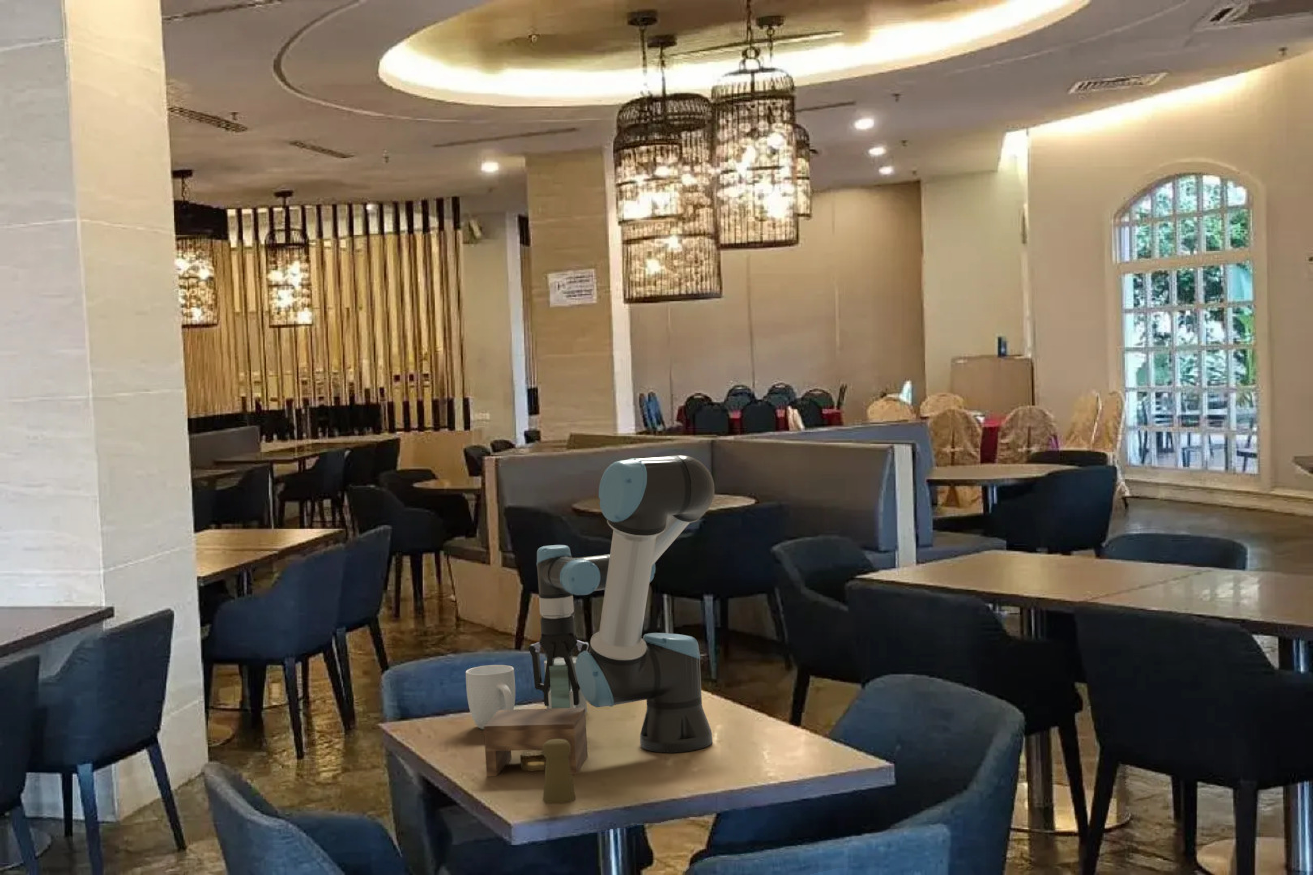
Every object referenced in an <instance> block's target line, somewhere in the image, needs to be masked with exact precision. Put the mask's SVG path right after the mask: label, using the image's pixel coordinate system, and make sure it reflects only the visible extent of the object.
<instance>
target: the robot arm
mask: <svg viewBox="0 0 1313 875" xmlns="http://www.w3.org/2000/svg"><path fill="white" fill-rule="evenodd" d="M598 486H599V487H598V498H599V500H600V501H599V507H600V511H601V513H602V516H604V517H605V519H606V523H607V525H608V526H609V527H610V528H611V529H612V530H613V531H612V538H611V545H610V553H608V554H600V555H593V556H592V555H591V556H582V557H572V553H571V549H570V546H568V545H565V544H554V545H543V546H541V547H539V548H537V551H536V563H535V564H536V569H537V580H538V581H537V582H538V584H537V585H538V602H539V615H541V618H540V634H541V635H540V638H539V640H538V641H539V642H536V643H531V644H530V645H529V646H528V650H529V652H530V655H531V661H532V670H533V681H534V689H535V690H539V691H542V692H543V705H544V707H547V706H549V709H552V705H551V690H550V688H551V687H550V670H549V666H552V665H553V664H554V660H555V658H556V657H562V658H564V661H565V663H566V665H568V675H569V678H570V682H571V686H572V689H571V690H570V692H569V697H570V708H576V706H575V705H578V704H579V702H580V695H579V690H580V689H581V692H582V694H583V696H584V697H585V699H586V702H587V704H589V705H591V706H592V707H595V708H604V707H610V708H611V707H614V706H617V705H624V704H628V703H629V704H630V703H634V702H635V703H636V702H640V701H646V711H645V715H644V719H643V722H642V726H641V731H640V734H639V741H640V742H639V743H640V744H639V746H640V747H641V748H642V749H644V750H647V751H650V752H655V753H683V752H684V753H685V752H691V751H697V750H701V749H705V748H706V747H709V746H711V745H712V743H713V732H712V729H711V726H710V723H709V721H708V719H707V718H708V717H707V716H706V713H705V710H704V707H703V698H702V696H703V695H702V678H701V654H700V653H701V652H700V649H699V648H700V647H699V642H698V641H697V639H696V638H695V637H693V636H691V635H685V634H679V633H670V632H669V633H667V632H666V633H665V632H651V633H649V632H648V633H645V634H644V635H643V636H642V634H643V628H644V627H643V626H644V620H645V615H646V614H645V613H646V607H647V600H648V594H649V588H650V583H651V582H652V581H653V580H654V577H655V574H656V562H657V561H658V560H659V559H660V558H661V556H662V555H663V554H664V553H665V551H667V549H668V548H669V547H670V546H671V545H672V544H673V543H674V541H675V540H677V538H678V537H679V536H680V535H681V533H683V531H684V530H685V529H686V528H687V527H688V526H689V524H690V523H695V522H697V521H699V520H700V519H701V518H703V516H704V515H705V514H706V512H708V510H709V509H710V507H711V506H712V503H713V501H714V497H715V492H716V491H715V482H714V479H713V476H712V474H711V472H710V471H709V469H708V468H707V467H706V465H704V463H702V462H701V461H700V460H698V459H696V458H694V457H691V456H689V455H684V454H682V455H681V454H676V455H669V456H668V455H667V456H659V457H658V456H657V457H656V456H655V457H645V458H638V457H632V458H631V457H630V458H628V459H624V460H617V461H614V462H612V464H610V465H609V466H608V467H607V468H606V469H605V470H604V472H603V474H602V477H601V479H600V482H599V485H598ZM596 591H604V595H603V600H602V601H603V602H602V608H601V616H600V617H601V618H600V624H599V629H598V631H597V632H595V633H594V634H593V635H592V636H591V637H590V641H589V642H588V641H585V642H584V641H581V640H578V637H577V635H576V626H575V616H574V614H573V613H574V612H575V608H574V596H586V595H590V594H592V593H594V592H596ZM642 637H643V638H642ZM576 646H577V651H578V652H579V653H578V654H577V656H576V657H577V658H576V671H575V667H574V664H573V660H572V657H573V655H572V652H573V650H574V649H575V647H576ZM541 648H542V650H543V651H544V652H545V653H546V654H547V656H546V660H547V665H546V672H545V671H544V678H543V679H544V680H542V670H541V669H542V666H541V656H540V652H541Z"/></svg>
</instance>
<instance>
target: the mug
mask: <svg viewBox="0 0 1313 875" xmlns="http://www.w3.org/2000/svg"><path fill="white" fill-rule="evenodd" d="M515 678H516V677H515V669H514V667H513V666H511V665H505V664H490V665H489V664H488V665H479V666H475V667H472V668H468V669H467V670H466V671H465V683H466V684H465V685H466V686H465V688H466V696H467V697H466V698H467V703H468V708H469V713H470V715H471V718H472V720H473V722H474V723H475V724H474V725H476V727H477V728H478V729H480V730H483V731H484V726H485V725H486V723H487V722H488V721H489V720H490V719H491V718H492V717H493V716H494V715H495V714H496V713H497V712H498V711H499V710H515V703H516V683H515V681H516V680H515Z"/></svg>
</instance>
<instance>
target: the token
mask: <svg viewBox="0 0 1313 875" xmlns="http://www.w3.org/2000/svg"><path fill="white" fill-rule="evenodd" d="M519 758H520V759H519V760H520V768H521V770H523V769H524V771H528V770H530V771H529V772H536V771H538V770H539V771H545V767H546V758H545V757H544V755H543V750H529V751H527V752H523V753H522V754H520V755H519ZM532 770H533V771H532Z"/></svg>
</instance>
